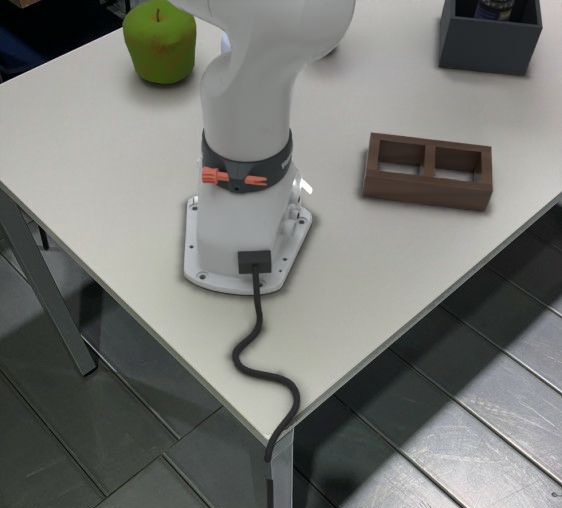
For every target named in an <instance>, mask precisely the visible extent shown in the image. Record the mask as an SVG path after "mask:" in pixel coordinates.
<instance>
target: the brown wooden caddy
mask: <svg viewBox="0 0 562 508" xmlns="http://www.w3.org/2000/svg"><path fill="white" fill-rule="evenodd" d="M367 146H368V147H367V152H366V161H365V169H364V176H363V183H362V192H361V197H363V198H373V199H379V200H380V199H381V200H388V201H397V202H405V203H413V204H422V205H429V206H435V207H444V208H453V209H461V210H467V211H469V210H470V211H478V212H486V210H487V207H488V205H489V203H490V200H491V198H492V195H493V193H494V180H493V179H494V178H493V176H494V175H493V152H492V151H493V150H492V147H493V146H491V145H483V144H474V143H467V142H459V141H448V140H441V139H432V138H422V137H417V136H416V137H414V136H408V135H407V136H406V135H400V134H399V135H398V134H389V133H382V132H381V133H380V132H373V131H371V132H370V135H369V141H368V145H367ZM379 162H385V163H386V162H387V163H393V164H402V165H410V166H418V167H419V173H418V174H413V173H403V172H396V171H387V170H379V169H378V164H379ZM436 169H441V170H442V169H443V170H451V171H460V172H466V173H467V172H468V173H473V181H470V180H461V179H453V178H446V177H437V176H435V172H436Z"/></svg>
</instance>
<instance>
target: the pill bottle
mask: <svg viewBox="0 0 562 508" xmlns="http://www.w3.org/2000/svg"><path fill="white" fill-rule="evenodd" d="M513 6H514V0H479V1H478V5H477V9H476V12H475V16H474V18H476V19H486V20H495V21H505V22H508V20H509V17H510V14H511V11H512V8H513Z"/></svg>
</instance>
